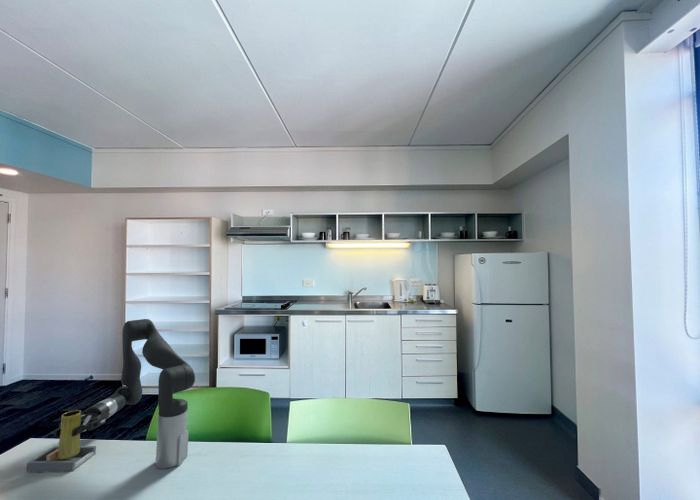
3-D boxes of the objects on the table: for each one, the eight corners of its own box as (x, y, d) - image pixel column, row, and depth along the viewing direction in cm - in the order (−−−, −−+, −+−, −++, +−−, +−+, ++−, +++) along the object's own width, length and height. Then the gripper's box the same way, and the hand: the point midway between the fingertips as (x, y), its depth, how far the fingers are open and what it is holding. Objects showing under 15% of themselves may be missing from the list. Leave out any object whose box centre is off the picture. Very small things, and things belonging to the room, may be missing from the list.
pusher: (67, 455, 111) (68, 444, 112) (49, 467, 104) (50, 455, 105) (64, 455, 111) (65, 444, 112) (45, 467, 104) (46, 455, 104)
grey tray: (95, 454, 113) (96, 445, 113) (72, 471, 103) (73, 462, 103) (53, 454, 112) (54, 446, 113) (26, 472, 102) (27, 463, 103)
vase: (84, 450, 111) (87, 410, 112) (67, 460, 105) (70, 417, 106) (69, 448, 112) (72, 409, 113) (51, 459, 106) (54, 416, 107)
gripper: (83, 402, 123) (43, 423, 106) (119, 402, 124) (85, 422, 107) (81, 421, 123) (41, 445, 106) (118, 421, 123) (84, 444, 106)
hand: (64, 433), depth 106 cm, fingers closed on vase, 5 cm apart
